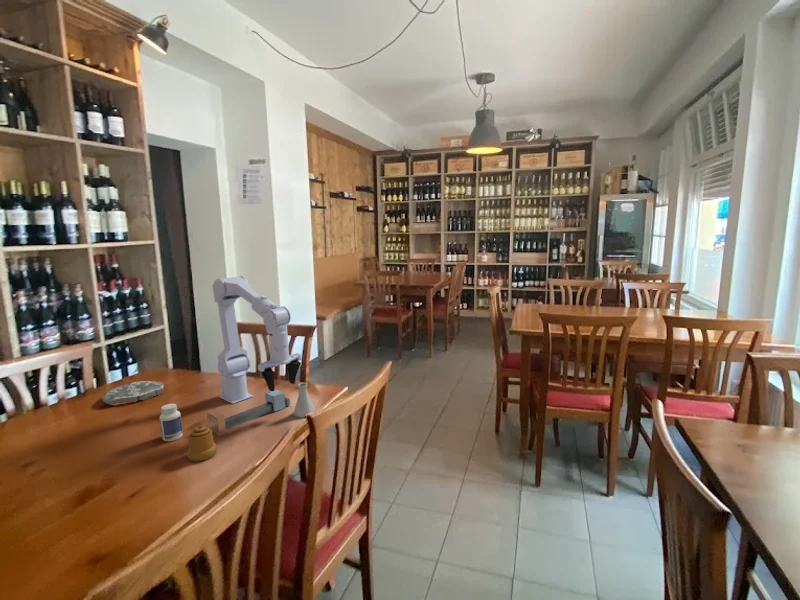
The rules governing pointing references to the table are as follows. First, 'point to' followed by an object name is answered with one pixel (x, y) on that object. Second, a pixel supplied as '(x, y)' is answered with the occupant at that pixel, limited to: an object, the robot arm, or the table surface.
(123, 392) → the brain slice
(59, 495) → the table surface
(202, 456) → the ornamental finial
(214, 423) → the rail
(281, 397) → the block
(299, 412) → the flask
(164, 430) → the pill bottle
